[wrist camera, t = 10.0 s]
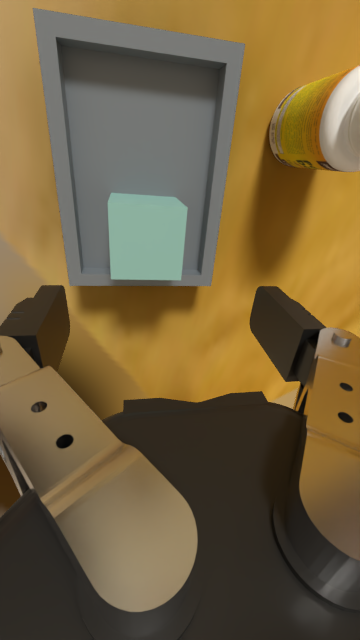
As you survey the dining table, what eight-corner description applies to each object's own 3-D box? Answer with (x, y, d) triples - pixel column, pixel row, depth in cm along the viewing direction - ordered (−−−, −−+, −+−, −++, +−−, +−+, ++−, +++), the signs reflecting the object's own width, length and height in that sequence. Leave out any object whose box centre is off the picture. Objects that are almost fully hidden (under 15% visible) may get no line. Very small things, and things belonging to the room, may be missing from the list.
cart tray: (225, 61, 20) (245, 43, 17) (200, 270, 28) (210, 285, 25) (49, 34, 18) (32, 8, 15) (76, 268, 26) (69, 285, 23)
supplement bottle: (264, 170, 25) (339, 180, 16) (269, 89, 22) (364, 48, 13) (323, 163, 25) (426, 169, 17) (335, 84, 22) (469, 41, 14)
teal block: (175, 197, 22) (187, 207, 18) (171, 258, 25) (180, 280, 21) (111, 192, 21) (107, 202, 17) (113, 256, 24) (110, 279, 20)
